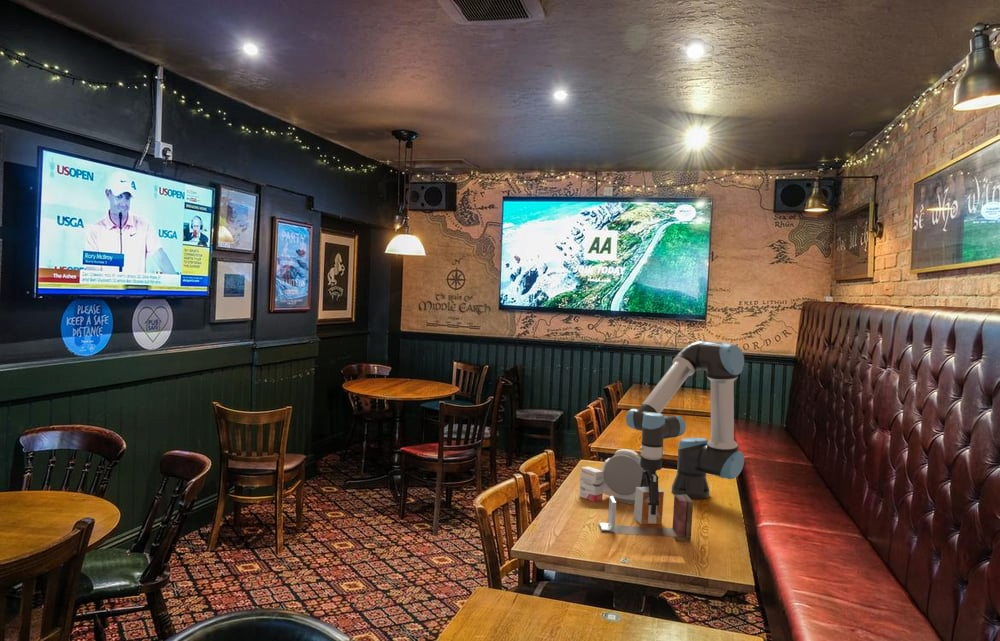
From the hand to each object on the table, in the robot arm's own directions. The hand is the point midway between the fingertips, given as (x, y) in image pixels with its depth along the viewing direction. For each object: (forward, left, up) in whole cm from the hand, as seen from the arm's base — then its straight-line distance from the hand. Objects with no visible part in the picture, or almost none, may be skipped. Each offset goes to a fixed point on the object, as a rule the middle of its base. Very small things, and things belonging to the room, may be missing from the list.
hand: (648, 516), depth 231 cm
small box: (0, 0, -3) cm, 3 cm away
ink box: (+17, -27, -3) cm, 32 cm away
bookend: (+16, +10, -1) cm, 19 cm away
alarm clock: (+4, -26, -3) cm, 27 cm away
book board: (+3, +10, -3) cm, 11 cm away
